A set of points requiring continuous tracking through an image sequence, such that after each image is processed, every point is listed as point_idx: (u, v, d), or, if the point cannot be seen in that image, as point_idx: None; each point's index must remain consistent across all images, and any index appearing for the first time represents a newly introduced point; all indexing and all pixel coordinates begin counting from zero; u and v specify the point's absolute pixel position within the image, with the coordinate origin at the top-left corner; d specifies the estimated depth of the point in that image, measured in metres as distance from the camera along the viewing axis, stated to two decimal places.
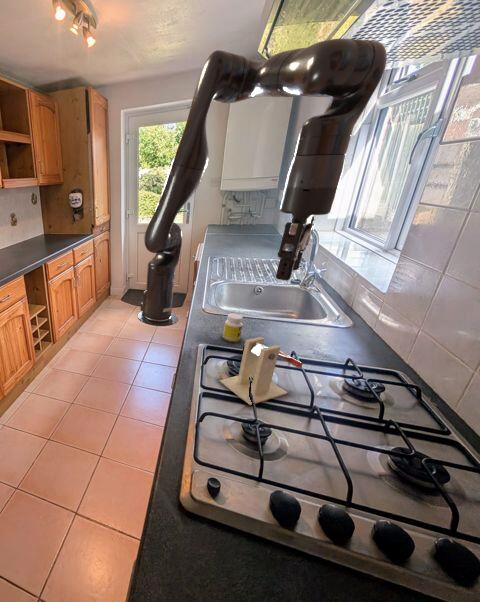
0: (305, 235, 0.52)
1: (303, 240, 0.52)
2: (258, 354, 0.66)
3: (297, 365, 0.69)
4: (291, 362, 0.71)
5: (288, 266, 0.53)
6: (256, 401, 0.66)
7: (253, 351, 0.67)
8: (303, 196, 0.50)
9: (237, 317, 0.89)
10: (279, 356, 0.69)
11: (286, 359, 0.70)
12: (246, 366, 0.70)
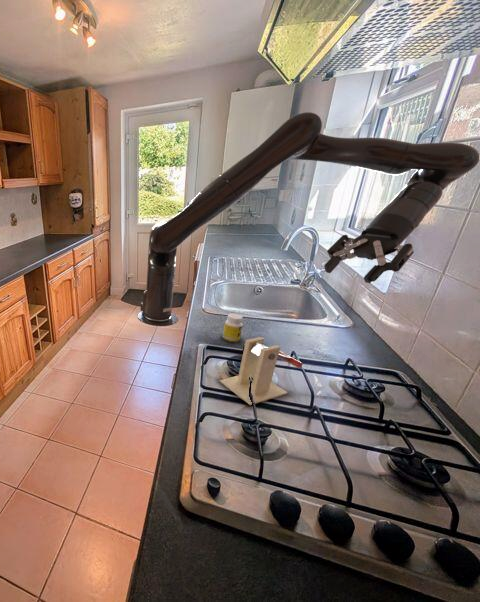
0: (384, 256, 0.69)
1: (385, 259, 0.69)
2: (258, 354, 0.66)
3: (297, 365, 0.69)
4: (291, 362, 0.71)
5: None
6: (256, 401, 0.66)
7: (253, 351, 0.67)
8: (409, 230, 0.67)
9: (237, 317, 0.89)
10: (279, 356, 0.69)
11: (286, 359, 0.70)
12: (246, 366, 0.70)
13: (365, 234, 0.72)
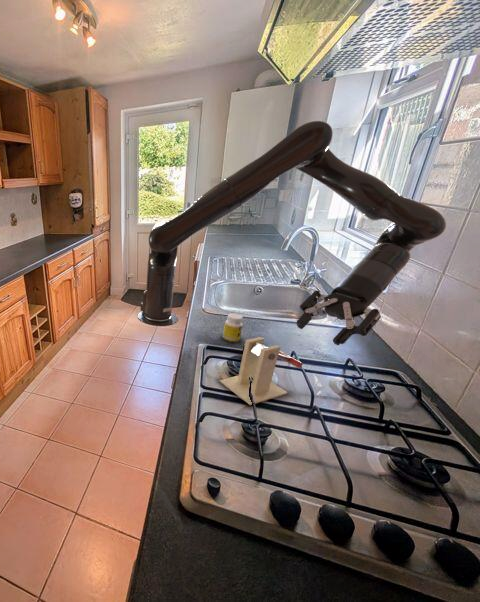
0: None
1: (354, 320, 0.69)
2: (258, 354, 0.66)
3: (297, 365, 0.69)
4: (291, 362, 0.71)
5: (349, 337, 0.67)
6: (256, 401, 0.66)
7: (253, 351, 0.67)
8: (377, 293, 0.68)
9: (237, 317, 0.89)
10: (279, 356, 0.69)
11: (286, 359, 0.70)
12: (246, 366, 0.70)
13: (336, 293, 0.73)
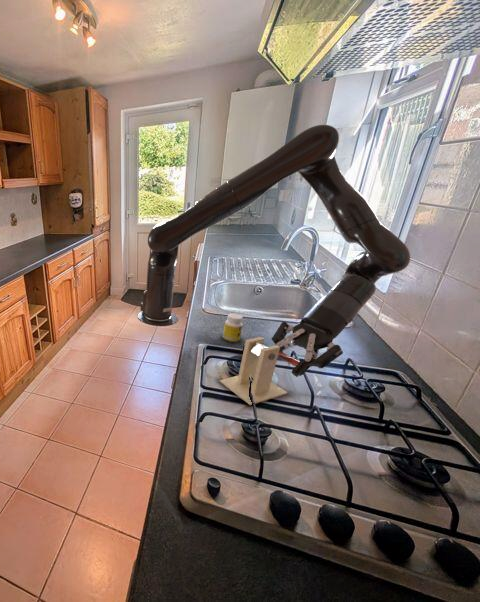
0: (318, 349, 0.70)
1: None
2: (258, 354, 0.66)
3: None
4: (291, 362, 0.71)
5: (307, 369, 0.68)
6: (256, 401, 0.66)
7: (253, 351, 0.67)
8: (342, 325, 0.68)
9: (237, 317, 0.89)
10: (279, 356, 0.69)
11: (286, 359, 0.70)
12: (246, 366, 0.70)
13: (304, 323, 0.73)
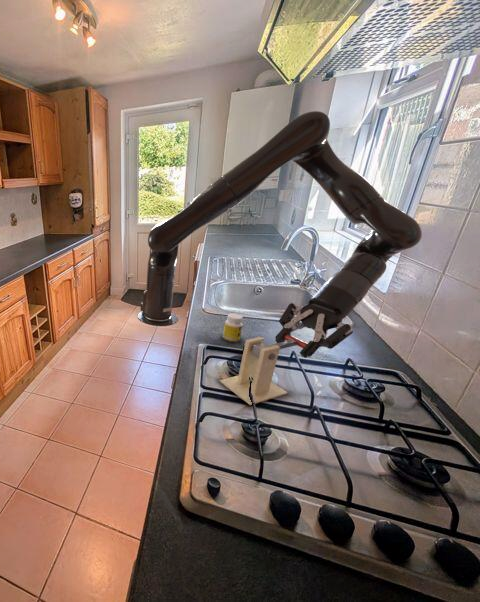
0: None
1: None
2: (258, 356, 0.66)
3: None
4: (299, 345, 0.69)
5: (316, 349, 0.67)
6: (256, 401, 0.66)
7: (253, 353, 0.67)
8: (352, 305, 0.66)
9: (237, 317, 0.89)
10: (283, 346, 0.68)
11: (293, 344, 0.69)
12: (246, 366, 0.70)
13: (312, 303, 0.71)
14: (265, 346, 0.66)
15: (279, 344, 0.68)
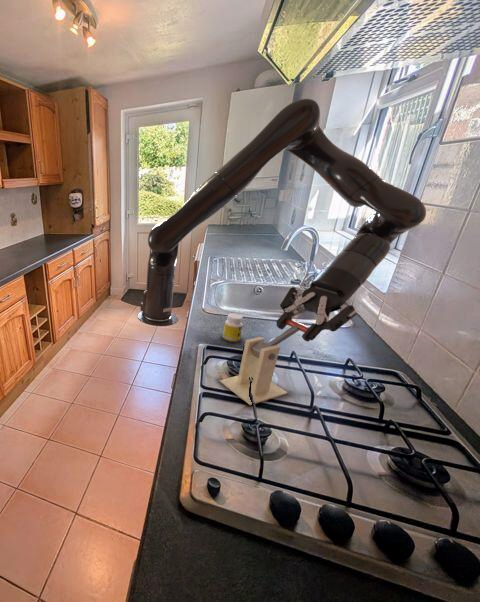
0: (330, 312, 0.66)
1: None
2: None
3: None
4: (301, 330, 0.68)
5: (319, 332, 0.65)
6: (256, 401, 0.66)
7: (254, 355, 0.68)
8: (355, 286, 0.64)
9: (237, 317, 0.89)
10: (284, 337, 0.67)
11: (294, 331, 0.68)
12: (246, 366, 0.70)
13: (314, 286, 0.69)
14: (263, 346, 0.66)
15: (279, 337, 0.67)
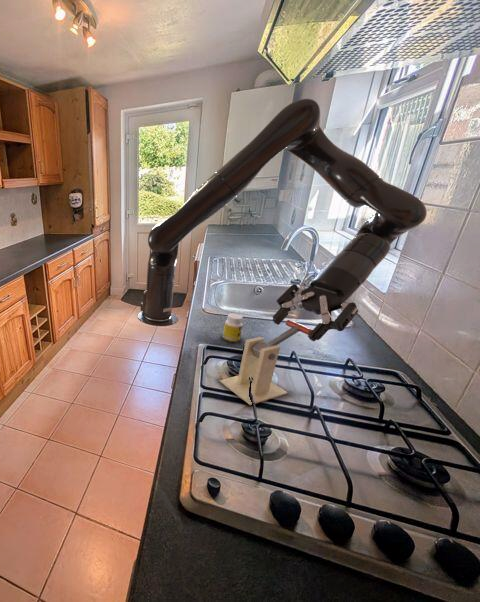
0: None
1: (331, 315, 0.65)
2: None
3: (308, 334, 0.66)
4: (301, 331, 0.68)
5: (325, 332, 0.64)
6: (256, 401, 0.66)
7: (254, 355, 0.68)
8: (355, 286, 0.64)
9: (237, 317, 0.89)
10: (284, 338, 0.67)
11: (294, 332, 0.68)
12: (246, 366, 0.70)
13: (313, 286, 0.69)
14: (263, 346, 0.66)
15: (279, 337, 0.68)
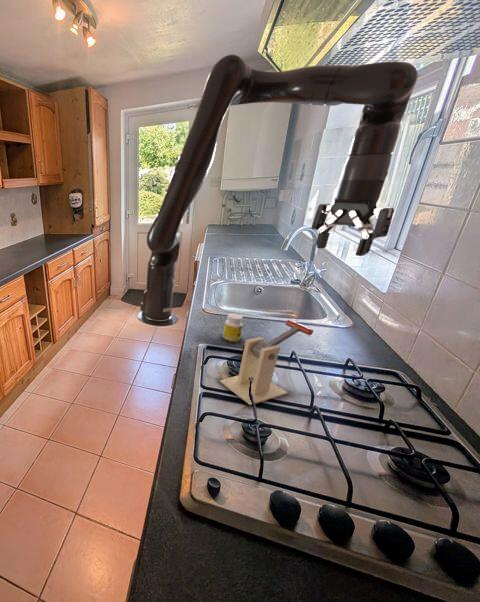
0: None
1: (370, 221, 0.66)
2: None
3: (308, 334, 0.66)
4: (301, 331, 0.68)
5: (371, 243, 0.66)
6: (256, 401, 0.66)
7: (254, 355, 0.68)
8: (379, 186, 0.62)
9: (237, 317, 0.89)
10: (284, 338, 0.67)
11: (294, 332, 0.68)
12: (246, 366, 0.70)
13: (339, 201, 0.69)
14: (263, 346, 0.66)
15: (279, 337, 0.68)
